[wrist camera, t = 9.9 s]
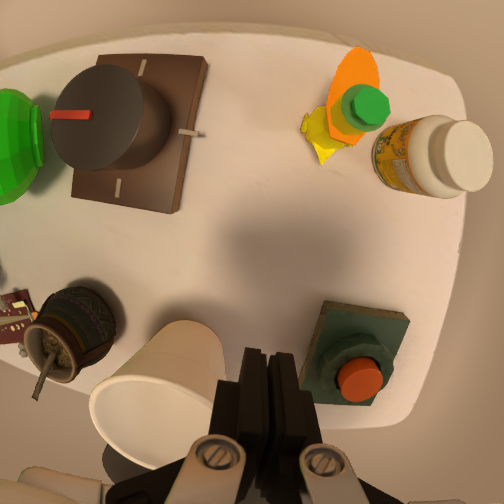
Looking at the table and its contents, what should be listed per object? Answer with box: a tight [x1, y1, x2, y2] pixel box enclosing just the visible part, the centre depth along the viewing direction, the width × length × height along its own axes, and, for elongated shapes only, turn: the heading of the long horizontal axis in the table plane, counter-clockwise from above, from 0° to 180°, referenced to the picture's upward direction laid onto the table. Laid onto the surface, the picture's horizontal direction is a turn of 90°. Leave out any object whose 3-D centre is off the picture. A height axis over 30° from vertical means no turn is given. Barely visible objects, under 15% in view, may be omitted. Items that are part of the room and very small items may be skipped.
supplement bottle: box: [372, 115, 493, 199], centre depth 17 cm, size 5×5×10 cm
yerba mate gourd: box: [23, 286, 117, 401], centre depth 21 cm, size 7×8×10 cm
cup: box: [89, 320, 226, 470], centre depth 21 cm, size 10×10×11 cm
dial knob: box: [49, 64, 170, 171], centre depth 17 cm, size 7×7×6 cm
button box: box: [298, 301, 410, 406], centre depth 25 cm, size 10×8×4 cm
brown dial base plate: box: [71, 54, 208, 214], centre depth 21 cm, size 12×11×2 cm
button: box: [337, 357, 383, 402], centre depth 23 cm, size 4×4×2 cm
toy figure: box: [300, 46, 390, 165], centre depth 16 cm, size 7×4×12 cm, turn 166°
